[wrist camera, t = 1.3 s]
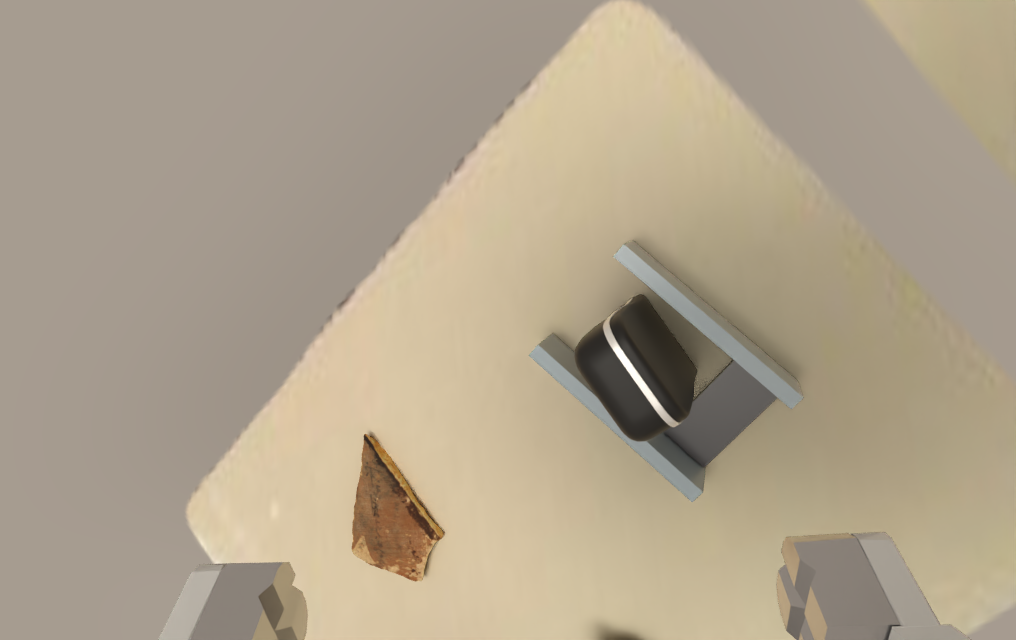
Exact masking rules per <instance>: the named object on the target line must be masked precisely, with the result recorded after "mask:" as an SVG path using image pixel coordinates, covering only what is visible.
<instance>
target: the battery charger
mask: <svg viewBox="0 0 1016 640" xmlns="http://www.w3.org/2000/svg"><path fill="white" fill-rule="evenodd" d="M574 358H575V363H576V366H577V368H578V370H579V372H580V373H581V375H582V376H583V378H584V379H585V380H586V382H587V383H588V385H589V386H590V388H591V389H592V391H593V392H594V393H595V395H596V396H597V398H598V399H599V401H600V402H601V403H602V405H603V406H604V408H605V409H606V410H607V412H608V413H609V415H610V416H611V417H612V419H613V420H614V422H615V423H616V424H617V426H618V427H619V429H620V430H621V431H622V432H623V433H624V435H626V436H627V437H628V438H629V439H631V440H634V441H637V442H642V441H647V440H650V439H652V438H654V437H655V436H657V435H659V434H661V433H662V432H664V431H666V430H667V429H669V428H671V427H676V426H677V425H679V424H681V423H682V421H683V420H684V419H685V418H687V417H688V415H689V413H690V410H691V407H692V402H693V395H694V382H695V377H696V373H697V370H696V368H695V366H694V365H693V363H692V362H691V361H690V359H689V358H688V356H687V355H686V353H685V352H684V351H683V349H682V348H681V346H680V345H679V344H678V342H677V341H676V339H675V338H674V337H673V335H672V334H671V332H670V331H669V330H668V328H667V327H666V325H665V324H664V323H663V321H662V320H661V318H660V317H659V316H658V314H657V313H656V311H655V310H654V309H653V307H652V306H651V305H650V303H649V302H648V300H647V299H646V298H645V297H644V296H643V295H638V296H636V297H635V298H634V297H632V298H631V299H629V300H628V301H627V303H626V304H624V305H623V306H621V307H620V308H619V309H618V310H616V311H615V312H613V313H612V314H611V315H610V316H609V317H608V318H607V319H606V320H604V321H603V322H601V323H600V324H598V325H597V326H595V327H594V328H593V329H592V330H591V331H590V332H588V333H587V334H586V335H585V336H584V337H583V338H582V340H581V341H580V342H579V344H578V346H577V347H576V350H575V355H574Z"/></svg>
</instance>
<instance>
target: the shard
mask: <svg viewBox="0 0 1016 640" xmlns="http://www.w3.org/2000/svg"><path fill="white" fill-rule="evenodd" d="M352 534H353V542H352V552H353V554H354V555H356V556H357V557H358V558H360V559H362V560H364V561H365V562H366V563H368V564H370V565H373V566H376V567H378V568H380V569H385V570H387V571H390V572H393V573H396V574H399V575H401V576H404V577H406V578H408V579H410V580H413V581H422V580H423V576H424V569H425V565H426V562H427V558H428V555H429V553H430V551H431V549H432V547H433V546H434V544H435V543H436V542H437V541H439V540H440V539H441V538H442V537H443V534H444V533H443V531H442V530H441V528H440V527H438V526H437V525H436V524H435V523H434V522H433V520H432V519H431V518H430V517H429V516H428V515H427V514H426V512H425V509H424V508H423V507H422V506H421V505H420V504H419V503H418V501H417V499H416V497H415V496H414V494H413V492H412V491H411V489H410V487H409V485H408V484H407V483H406V481H405V479H404V477H403V476H402V475H401V473H400V471H399V470H398V468H397V467H396V466H395V464H394V462H393V461H392V459H391V457H390V456H389V455H388V454H387V453H386V451H385V450H384V449H383V448H382V447H381V446H380V444H379V443H378V442H377V441H376V440H375V439H374V438H372V437H371V436H370V437H369V436H368V435H366V434H364V445H363V451H362V466H361V472H360V479H359V483H358V487H357V494H356V502H355V506H354V519H353V529H352Z"/></svg>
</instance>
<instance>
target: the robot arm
mask: <svg viewBox="0 0 1016 640" xmlns="http://www.w3.org/2000/svg"><path fill="white" fill-rule="evenodd" d="M781 553H782V555H783V558H784V561H785V565H784V566H783V567H782V568H781V569H780V570H778V577H777V596H778V604H779V608H780V612H781V616H782V619H783V622H784V625H785V628H786V631H787V632H788V633H789V634H791V635H792V636H793V637H794V638H795V639H796V640H971V639H970V638H969V637H967V636H966V635H964V634H963V633H962V632H960V631H959V630H958V629H956V628H955V627H953V626H952V625H940V623H939V621H938V619H937V618H936V616H935V614H934V612H933V610H932V609H931V607H930V605H929V603H928V602H927V600H926V598H925V596H924V595H923V593H922V591H921V589H920V587H919V586H918V584H917V582H916V580H915V579H914V577H913V575H912V573H911V572H910V570H909V568H908V566H907V564H906V563H905V561H904V559H903V557H902V556H901V554H900V552H899V550H898V548H897V547H896V545H895V543H894V541H893V540H892V538H891V537H890V536H889V535H888V534H887V533H885V532H874V533H855V534H849V533H841V534H825V535H809V536H793V537H786V539H785V540H784V541H783V546H782V551H781ZM294 578H295V573H294V571H293V569H292V567H291V564H290V562H276V563H228V564H203V565H199V566H197V567H196V568H195V569H194V570H193V571H192V573H191V574H190V576H189V578H188V580H187V582H186V584H185V586H184V588H183V590H182V592H181V594H180V596H179V598H178V600H177V602H176V604H175V606H174V609H173V610H172V613H171V615H170V617H169V619H168V621H167V623H166V625H165V627H164V629H163V631H162V633H161V635H160V637H159V639H158V640H304V639H305V636H306V630H307V618H308V612H307V605H306V600H305V598H304V595H303V592H302V591H300V590H299V589H297V588H296V587H294V586H293V585H292V584H293V581H294Z"/></svg>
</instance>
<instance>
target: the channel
mask: <svg viewBox="0 0 1016 640" xmlns="http://www.w3.org/2000/svg"><path fill="white" fill-rule="evenodd" d="M613 257H614V258H616V259H617V260H618V261H619V262H620V263H621V264H623V265H624V266H625V267H626V268H627V269H628V270H630V271H631V272H632V273H633V274H634V275H635V276H637V277H638V278H639V279H640V280H641V281H642V282H643V283H645V284H646V285H647V286H648V287H649V288H650V289H652V290H653V291H654V292H655V293H656V294H657V295H659V296H660V297H661V298H662V299H663V300H664V301H666V302H667V303H668V304H669V305H670V306H671V307H673V308H674V309H675V310H676V311H677V312H678V313H680V314H681V315H682V316H683V317H684V318H685V319H687V320H688V321H689V322H690V323H691V324H692V325H694V326H695V327H696V328H697V329H698V330H699V331H701V332H702V333H703V334H704V335H705V336H706V337H708V338H709V339H710V340H711V341H712V342H713V343H715V344H716V345H717V346H718V347H719V348H720V349H722V350H723V351H724V352H725V353H726V354H727V355H729V356H730V357H731V358H732V359H733V361H732V362H731V363H730V364H729V365H728V366H727V367H726V368H725V369H724V370H723V371H722V372H721V373H720V374H719V375H718V376H717V377H716V378H715V379H714V380H713V381H712V382H711V383H710V384H709V385H708V386H707V387H706V388H705V389H704V390H703V391H702V392H701V393H700V394H699V395H698V396H697V397H696V398H695V399H694V400H693V402H692V407H691V410H690V413H689V415H688V417H687V418H685V419H684V420H683V421H682V423H681V424H679V425H677V426H676V427H671V428H669V429H667V430H666V431H664V432H662V433H661V434H659V435H657V436H655V437H654V438H652V439H650V440H647V441H642V442H637V441H634V440H631V439H629V438H628V437H627V436H626V435H624V433H623V432H622V431H621V430H620V429H619V427H618V426H617V424H616V423H615V422H614V420H613V419H612V417H611V416H610V415H609V413H608V412H607V410H606V409H605V408H604V406H603V405H602V403H601V402H600V401H599V399H598V398H597V396H596V395H595V393H594V392H593V391H592V389H591V388H590V386H589V385H588V383H587V382H586V380H585V379H584V378H583V376H582V375H581V373H580V372H579V370H578V368H577V366H576V363H575V358H574V355H575V352H573V351H572V350H571V349H570V348H569V347H568V346H567V345H566V344H564V343H563V342H562V341H561V340H560V339H559V338H558V337H557V336H555V335H554V334H553V333H552V334H551V335H550V336H549V337H547V338H546V339H545V340H543V341H542V342H541V343H539V344H538V345H537V346H536V348H535V349H534V350H533V351H532V352H531V353H530V355H529V356H530V357H531V358H532V359H533V360H534V361H535V362H537V363H538V364H539V365H540V366H541V367H542V368H543V369H544V370H545V371H547V372H548V373H549V374H550V375H551V376H552V377H553V378H554V379H555V380H557V381H558V382H559V383H560V384H561V385H562V386H563V387H564V388H566V389H567V390H568V391H569V392H570V393H571V394H572V395H573V396H574V397H576V398H577V399H578V400H579V401H580V402H581V403H582V404H583V405H584V406H586V407H587V408H588V409H589V410H590V411H591V412H592V413H593V414H594V415H596V416H597V417H598V418H599V419H600V420H601V421H602V422H603V423H604V424H606V425H607V426H608V427H609V428H610V429H611V430H612V431H613V432H615V433H616V434H617V435H618V436H619V437H620V438H621V439H622V440H623V441H625V442H626V443H627V444H628V445H629V446H630V447H631V448H632V449H633V450H635V451H636V452H637V453H638V454H639V455H640V456H641V457H642V458H643V459H645V460H646V461H647V462H648V463H649V464H650V465H651V466H652V467H653V468H655V469H656V470H657V471H658V472H659V473H660V474H661V475H662V476H664V477H665V478H666V479H667V480H668V481H669V482H670V483H671V484H672V485H674V486H675V487H676V488H677V489H678V490H679V491H680V492H681V493H682V494H684V495H685V496H686V497H687V498H688V499H689V500H690V501H691V502H693V501H694V500H695V499H696V498H697V497H698V496H700V495H701V494H702V493H703V488H704V478H705V468H704V467H705V466H706V465H708V464H709V463H710V462H711V461H712V460H713V459H714V458H715V457H716V456H717V455H718V454H719V453H720V452H721V451H722V450H723V449H724V448H725V447H726V446H727V445H728V444H730V443H731V442H732V441H733V440H734V439H735V438H736V437H737V436H738V435H739V434H740V433H741V432H742V431H743V430H744V429H745V428H746V427H747V426H748V425H749V424H750V423H751V422H753V421H754V420H755V419H756V418H757V417H758V416H759V415H760V414H761V413H762V412H763V411H764V410H765V409H766V408H767V407H768V406H769V405H770V404H771V403H772V402H773V401H775V400H776V399H777V398H779V399H780V400H781V401H782V402H783V403H785V404H786V405H787V406H788V407H789V408H790V409H792V408H793V407H794V406H795V405H796V404H797V403H799V402H800V401H801V400H802V399H803V398H804V397H803V394H802V391H801V389H800V386H799V383H798V380H796V379H795V378H794V377H793V376H792V375H790V374H789V373H788V372H787V371H786V370H785V369H783V368H782V367H781V366H780V365H779V364H778V363H776V362H775V361H774V360H773V359H772V358H770V357H769V356H768V355H767V354H766V353H765V352H763V351H762V350H761V349H760V348H759V347H758V346H756V345H755V344H754V343H753V342H752V341H750V340H749V339H748V338H747V337H746V336H745V335H743V334H742V333H741V332H740V331H739V330H738V329H736V328H735V327H734V326H733V325H732V324H730V323H729V322H728V321H727V320H726V319H725V318H723V317H722V316H721V315H720V314H719V313H718V312H716V311H715V310H714V309H713V308H712V307H710V306H709V305H708V304H707V303H706V302H705V301H703V300H702V299H701V298H700V297H699V296H698V295H696V294H695V293H694V292H693V291H692V290H691V289H689V288H688V287H687V286H686V285H685V284H683V283H682V282H681V281H680V280H679V279H678V278H676V277H675V276H674V275H673V274H672V273H671V272H669V271H668V270H667V269H666V268H665V267H663V266H662V265H661V264H660V263H659V262H658V261H656V260H655V259H654V258H653V257H652V256H651V255H649V254H648V253H647V252H646V251H645V250H643V249H642V248H641V247H640V246H639V245H638V244H636V243H635V242H634V241H633V240H632V241H630V242H628V243H625V244H624V245H623V246H622V247H621V248H620V249H619V250H618V252H617V253H616V254H615V255H614V256H613Z"/></svg>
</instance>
